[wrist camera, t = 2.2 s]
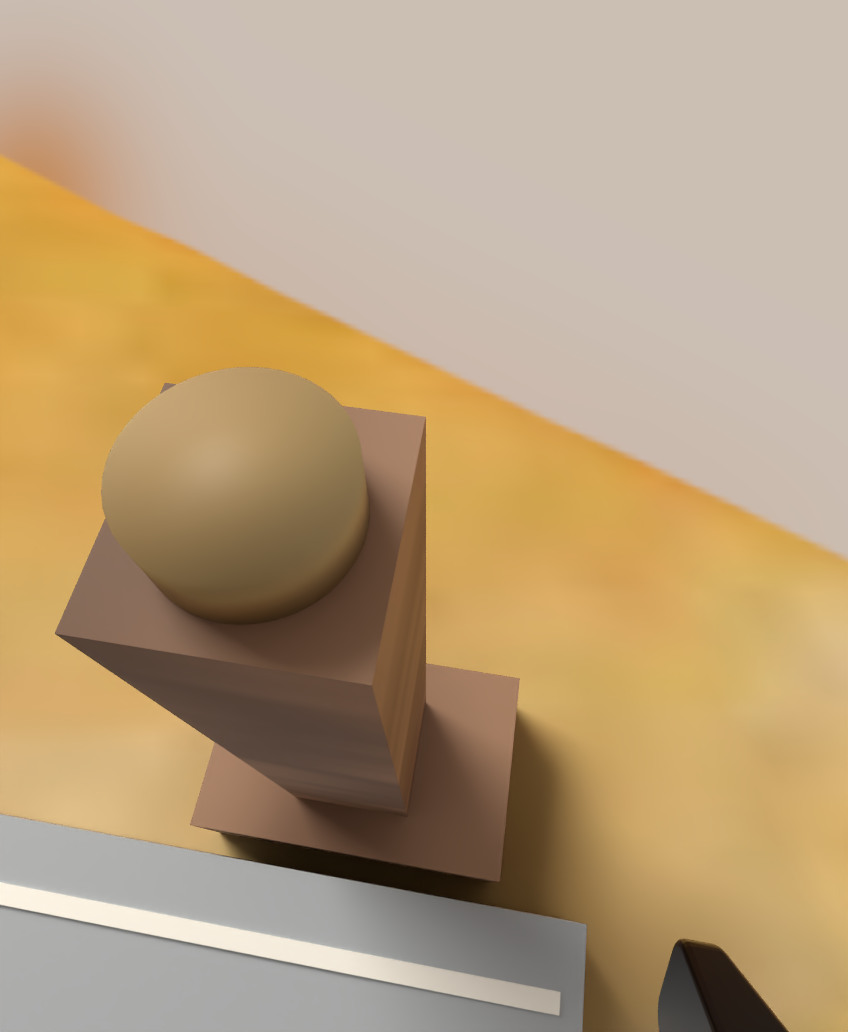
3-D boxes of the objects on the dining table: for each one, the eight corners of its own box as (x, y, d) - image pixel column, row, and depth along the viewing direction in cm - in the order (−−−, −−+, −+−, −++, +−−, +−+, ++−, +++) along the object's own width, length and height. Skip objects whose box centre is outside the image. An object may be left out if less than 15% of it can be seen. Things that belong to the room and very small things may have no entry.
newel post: (508, 702, 19) (686, 309, 6) (490, 882, 17) (702, 872, 4) (266, 662, 20) (-47, 224, 7) (220, 832, 18) (-379, 678, 4)
